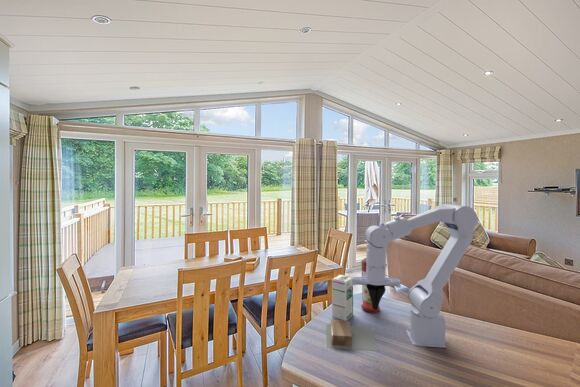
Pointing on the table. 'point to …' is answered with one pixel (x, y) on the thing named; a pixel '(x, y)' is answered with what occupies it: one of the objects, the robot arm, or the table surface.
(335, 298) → the syrup box
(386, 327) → the table surface
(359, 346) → the mat
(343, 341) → the slab
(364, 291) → the liquor
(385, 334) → the table surface
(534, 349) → the table surface
